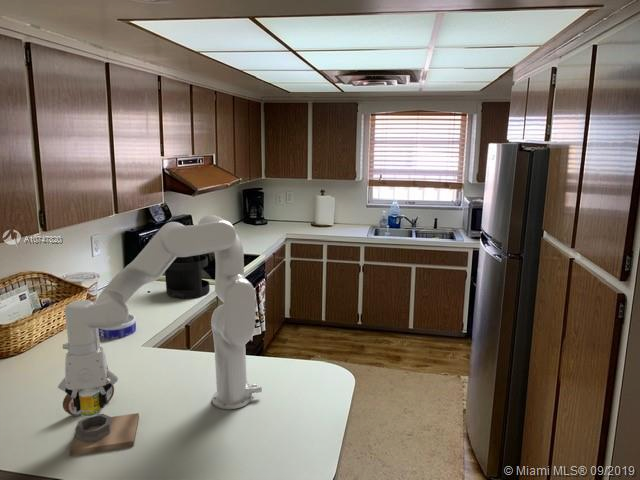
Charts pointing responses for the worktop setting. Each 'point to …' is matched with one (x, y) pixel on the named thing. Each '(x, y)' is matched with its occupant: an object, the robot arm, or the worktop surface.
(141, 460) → the worktop surface
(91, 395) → the supplement bottle
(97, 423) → the holder board
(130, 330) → the dog bowl
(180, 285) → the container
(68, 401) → the tin
